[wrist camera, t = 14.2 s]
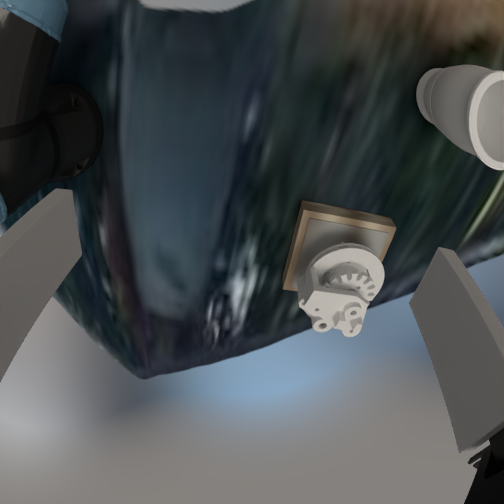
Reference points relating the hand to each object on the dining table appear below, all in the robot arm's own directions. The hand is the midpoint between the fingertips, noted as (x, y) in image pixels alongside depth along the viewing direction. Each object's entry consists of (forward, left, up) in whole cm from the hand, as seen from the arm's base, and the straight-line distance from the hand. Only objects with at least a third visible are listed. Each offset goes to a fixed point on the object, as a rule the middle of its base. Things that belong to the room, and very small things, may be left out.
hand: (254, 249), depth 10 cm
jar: (+23, +8, -32) cm, 40 cm away
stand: (+14, -19, -32) cm, 39 cm away
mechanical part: (+14, -19, -29) cm, 37 cm away
